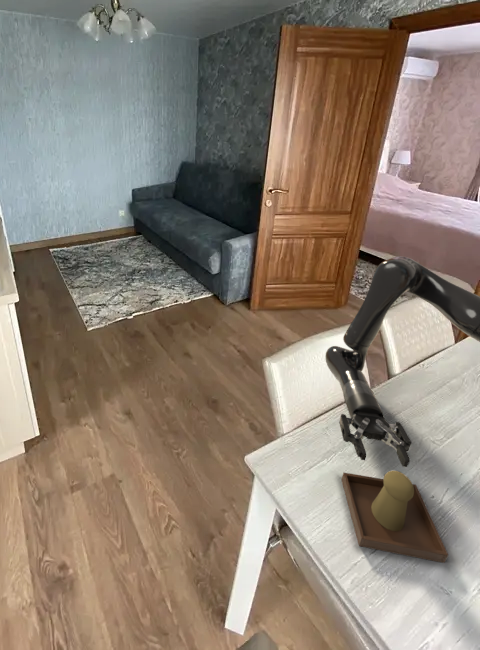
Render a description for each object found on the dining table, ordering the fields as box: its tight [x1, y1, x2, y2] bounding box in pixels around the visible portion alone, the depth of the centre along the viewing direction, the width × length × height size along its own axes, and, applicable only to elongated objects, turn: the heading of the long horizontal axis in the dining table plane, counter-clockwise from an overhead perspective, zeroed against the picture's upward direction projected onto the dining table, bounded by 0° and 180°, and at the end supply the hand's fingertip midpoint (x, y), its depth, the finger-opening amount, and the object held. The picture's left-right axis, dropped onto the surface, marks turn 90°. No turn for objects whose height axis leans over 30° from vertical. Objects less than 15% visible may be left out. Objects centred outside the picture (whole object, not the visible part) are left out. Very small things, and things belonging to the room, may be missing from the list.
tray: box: [341, 472, 449, 564], centre depth 72 cm, size 15×13×2 cm
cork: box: [371, 470, 414, 531], centre depth 70 cm, size 6×6×11 cm
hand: (385, 461), depth 75 cm, fingers open, 8 cm apart
